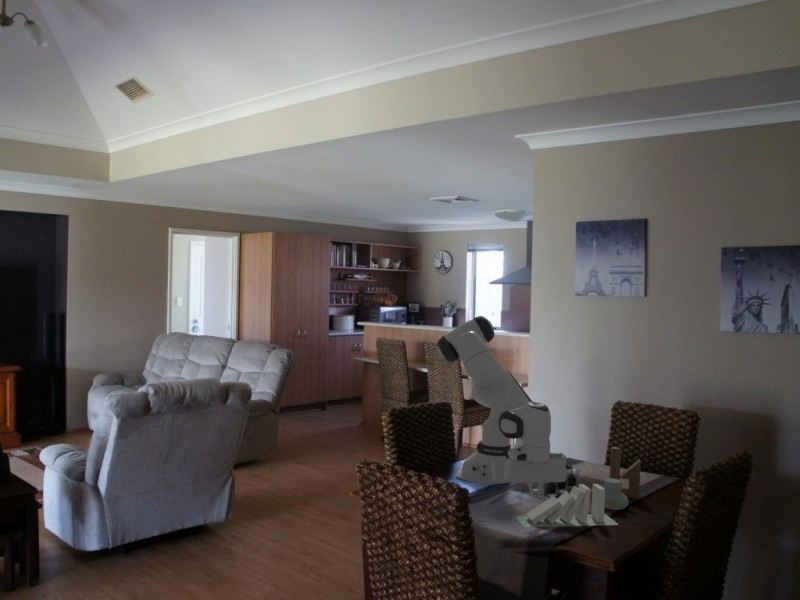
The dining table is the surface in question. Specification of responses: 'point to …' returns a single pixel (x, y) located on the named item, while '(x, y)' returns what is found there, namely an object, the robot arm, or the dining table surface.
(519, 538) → the dining table surface
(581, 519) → the domino
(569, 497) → the domino
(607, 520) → the domino board
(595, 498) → the domino
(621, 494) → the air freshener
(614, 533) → the dining table surface
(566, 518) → the domino
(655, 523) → the dining table surface
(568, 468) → the phone
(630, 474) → the wooden block
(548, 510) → the domino
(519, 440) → the sitting furry creature
